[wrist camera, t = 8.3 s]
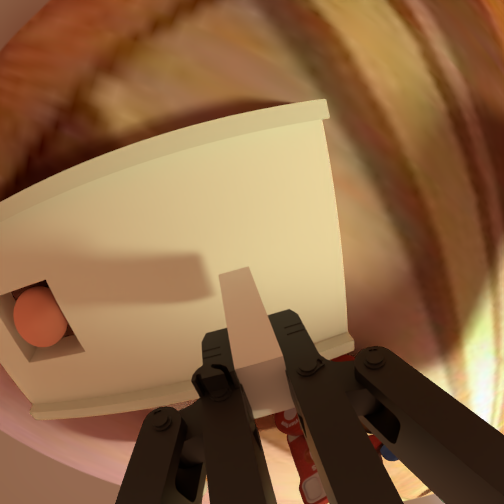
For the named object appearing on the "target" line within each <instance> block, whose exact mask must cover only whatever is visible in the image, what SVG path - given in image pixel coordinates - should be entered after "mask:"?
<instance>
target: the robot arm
mask: <svg viewBox="0 0 504 504" xmlns="http://www.w3.org/2000/svg"><path fill="white" fill-rule="evenodd" d="M219 282H220V288H221V294H222V300H223V306H224V312H225V318H226V324H227V328H224V329H220V330H216V331H212V332H208V333H206V334H205V336H204V338H203V340H202V342H201V345H202V359H203V360H202V362H203V365H202V366H201V367H199V368H198V369H197V370H196V371H195V372H194V374H193V375H192V379H191V382H192V384H193V386H194V388H195V389H196V391H197V393H198V395H199V397H200V398H199V399H198V400H197V401H196V402H195V403H193V404H192V405H190V406H188V407H186V408H184V409H182V410H180V411H177V410H176V409H174V408H172V407H167V406H166V407H159V408H157V409H155V410H153V411H152V412H150V413H149V414H148V415H147V416H146V418H145V420H144V422H143V424H142V427H141V430H140V433H139V435H138V438H137V441H136V444H135V447H134V449H133V452H132V455H131V458H130V461H129V464H128V467H127V470H126V473H125V476H124V478H123V481H122V484H121V487H120V491H119V493H118V497H117V500H116V503H115V504H201V503H202V497H203V492H204V486H205V480H206V475H207V481H208V490H209V498H210V504H277V502H276V498H275V494H274V491H273V487H272V483H271V479H270V475H269V472H268V468H267V464H266V460H265V456H264V452H263V448H262V444H261V440H260V436H259V432H258V429H257V427H256V424H255V421H254V419H256V418H260V417H264V416H267V415H271V414H274V413H278V412H281V411H285V410H288V409H291V408H294V407H295V408H296V411H297V415H298V420H299V424H300V428H301V430H302V431H303V433H304V436H305V439H306V441H307V444H308V447H309V450H310V452H311V455H312V458H313V461H314V463H315V466H316V469H317V471H318V474H319V477H320V480H321V482H322V485H323V488H324V490H325V493H326V496H327V498H328V501H329V504H404V503H403V501H402V499H401V497H400V496H399V494H398V492H397V490H396V488H395V486H394V484H393V482H392V480H391V478H390V476H389V474H388V473H387V471H386V469H385V467H384V465H383V463H382V461H381V459H380V457H379V455H378V453H377V452H376V450H375V448H374V446H373V444H372V442H371V440H370V438H369V437H368V435H367V433H366V431H365V429H364V427H363V425H362V423H363V424H364V425H365V426H366V427H367V428H368V429H369V430H370V431H371V432H372V433H373V434H374V435H375V436H376V437H377V438H378V439H379V440H380V441H381V442H382V443H383V444H384V445H385V446H386V447H387V448H388V449H389V450H390V451H391V452H392V453H393V454H394V455H395V456H396V457H397V458H398V459H399V460H400V461H401V462H402V463H403V464H404V465H405V466H406V467H407V468H408V469H409V470H410V471H411V472H412V473H413V474H414V475H415V476H417V477H418V478H419V479H420V480H421V481H422V482H423V483H424V484H425V485H426V486H427V487H428V488H429V489H430V490H431V491H432V492H433V493H434V494H436V495H437V496H438V497H439V498H440V499H441V500H442V501H443V502H444V503H445V504H504V435H503V434H502V433H500V432H499V431H498V430H496V429H495V428H494V427H492V426H491V425H490V424H488V423H487V422H486V421H484V420H483V419H482V418H480V417H479V416H478V415H476V414H475V413H474V412H472V411H471V410H470V409H468V408H467V407H466V406H464V405H463V404H462V403H460V402H459V401H457V400H456V399H455V398H453V397H452V396H451V395H449V394H448V393H447V392H445V391H444V390H443V389H441V388H440V387H439V386H437V385H436V384H435V383H433V382H432V381H431V380H429V379H428V378H427V377H425V376H424V375H423V374H421V373H420V372H419V371H417V370H416V369H414V368H413V367H412V366H410V365H409V364H408V363H406V362H405V361H404V360H402V359H401V358H400V357H398V356H397V355H396V354H394V353H393V352H392V351H390V350H388V349H386V348H384V347H378V346H374V347H368V348H366V349H363V350H361V351H360V352H359V353H358V354H357V355H356V357H355V360H352V361H343V362H335V361H330V360H327V359H325V358H324V357H323V356H321V355H320V354H319V352H318V351H317V349H316V347H315V345H314V343H313V341H312V339H311V337H310V336H309V334H308V332H307V330H306V328H305V326H304V324H303V323H302V321H301V319H300V317H299V315H298V314H297V313H295V312H294V311H292V310H291V309H287V310H284V311H280V312H277V313H274V314H270V315H267V313H266V310H265V308H264V305H263V303H262V300H261V297H260V295H259V292H258V289H257V287H256V284H255V282H254V279H253V276H252V274H251V271H250V269H249V266H247V267H244V268H240V269H237V270H233V271H230V272H226V273H222V274H219ZM253 416H254V417H253ZM361 422H362V423H361Z"/></svg>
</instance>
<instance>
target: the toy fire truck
mask: <svg viewBox="0 0 504 504" xmlns="http://www.w3.org/2000/svg"><path fill="white" fill-rule="evenodd" d="M352 360H355V357H353V356H351V355H346V354H344V355H341V356H339V357H336V358H333V359H332V360H331V361H335V362H343V361H352ZM361 423H362V422H361ZM275 424H276V426H277V428H278V429H279V430H280V431H281V432H282V433H285V434H287V441H288V444H289V447H290V450H291V454H292V456H293V459H294V462H295V465H296V468H297V471H298V473H299V476H300V485H299V491H300V494H301V497H302V499H303V502H304V504H327V503H329V501H328V498H327V496H326V493H325V490H324V488H323V485H322V482H321V480H320V477H319V474H318V471H317V469H316V466H315V463H314V461H313V458H312V455H311V452H310V450H309V447H308V444H307V441H306V439H305V436H304V433H303V431H302V430H301V428H300V424H299V420H298V415H297V411H296V408H295V407H294V408H291V409H288V410H285V411H281V412H278V413H275ZM362 425H363V427H364V429H365V431H366V432H367V433H369V434H373V433H372V432H371V431H370V430H369V429H368V428H367V427H366V426H365V425H364V424H363V423H362ZM368 437H369V438H370V440H371V442H372V444H373V446H374V448H375V450H376V452H377V453H378V455H379V457H380V459H381V461H382V463H383V460H382V457H381V455H382V456H383V457H384V458H385V459H386V460H388V461H396V460H399V459H398V458H397V457H396V456H395V455H394V454H393V453H392V452H391V451H390V450H389V449H388V448H387V447H386V446H385V445H384V444H383V443H382V442H381V441H380V440H379V439H378V438H377V437H376V436H375V435H374V434H373V435H369V436H368Z"/></svg>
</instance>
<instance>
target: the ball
mask: <svg viewBox="0 0 504 504" xmlns="http://www.w3.org/2000/svg"><path fill="white" fill-rule="evenodd" d="M13 317H14V323H15V326H16V329H17V331H18V333H19V334H20V336H21V337H22V338H23V339H24V340H25V341H26V342H28V343H29V344H31V345H33V346H36V347H49V346H52V345H54V344H56V343H57V342H58V341H59V340H60V339H61V338H62V337H63V335H64V334H65V332H66V329H67V325H68V321H67V320H66V318H65V316H64V314H63V312H62V311H61V309H60V307H59V305H58V303H57V301H56V299H55V297H54V295H53V293H52V291H51V289H49V288H46V287H41V286H36V287H32V288H29V289H27V290H25V291H24V292H23V293H22V294H21V295H20V296H19V297H18V299H17V301H16V303H15V306H14V312H13Z"/></svg>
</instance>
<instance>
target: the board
mask: <svg viewBox="0 0 504 504" xmlns="http://www.w3.org/2000/svg"><path fill="white" fill-rule="evenodd" d="M327 118H330V117H329V112H328V107H327V102H326V99H320V100H313V101H306V102H299V103H293V104H287V105H281V106H275V107H270V108H265V109H260V110H255V111H250V112H245V113H241V114H236V115H232V116H227V117H223V118H219V119H215V120H211V121H207V122H203V123H199V124H196V125H192V126H188V127H185V128H181V129H178V130H174V131H171V132H168V133H164V134H161V135H158V136H155V137H152V138H149V139H146V140H143V141H140V142H137V143H134V144H131V145H128V146H125V147H122V148H120V149H117V150H114V151H111V152H109V153H106V154H103V155H101V156H98V157H96V158H93V159H91V160H88V161H86V162H83V163H81V164H78V165H76V166H74V167H71V168H69V169H67V170H65V171H62V172H60V173H58V174H56V175H53V176H51V177H49V178H47V179H45V180H43V181H41V182H38V183H36V184H34V185H32V186H30V187H28V188H26V189H24V190H22V191H20V192H18V193H16V194H15V195H13V196H11V197H9V198H7V199H5V200H3V201H2V202H0V363H1V365H2V366H3V367H4V369H5V370H6V372H7V373H8V374H9V376H10V377H11V378H12V380H13V381H14V382H15V384H16V385H17V386H18V387H19V389H20V390H21V391H22V392H23V394H24V395H25V396H26V397H27V398H28V400H29V401H30V402H31V403H32V407H31V409H30V412H29V413H30V414H31V415H32V416H33V417H34V418H35V420H53V419H68V418H80V417H91V416H100V415H108V414H116V413H123V412H130V411H137V410H143V409H149V408H155V407H160V406H165V405H171V404H176V403H181V402H185V401H190V400H195V399H199V398H200V397H199V395H198V393H197V391H196V389H195V388H194V386H193V384H192V382H191V379H192V375H193V374H194V372H195V371H196V370H197V369H198V368H199V367H201V366H202V365H203V362H202V360H203V359H202V345H201V342H202V340H203V338H204V336H205V334H206V333H208V332H212V331H216V330H220V329H224V328H227V324H226V318H225V312H224V306H223V300H222V294H221V288H220V282H219V274H222V273H226V272H230V271H233V270H237V269H240V268H244V267H247V266H249V269H250V271H251V274H252V276H253V279H254V282H255V284H256V287H257V289H258V292H259V295H260V297H261V300H262V303H263V305H264V308H265V310H266V313H267V315H270V314H274V313H277V312H280V311H284V310H287V309H291V310H292V311H294V312H295V313H297V314H298V315H299V317H300V319H301V321H302V323H303V324H304V326H305V328H306V330H307V332H308V334H309V336H310V337H311V339H312V341H313V343H314V345H315V347H316V349H317V351H318V352H319V354H320V355H321V356H323V357H324V358H325V359H327V360H330V359H333V358H336V357H339V356H341V355H344V354H346V353H349V352H351V351H354V339H353V338H352V336H351V335H350V334H349V332H348V322H347V305H346V291H345V279H344V268H343V257H342V248H341V239H340V230H339V222H338V214H337V206H336V199H335V192H334V185H333V179H332V172H331V166H330V160H329V154H328V149H327V143H326V138H325V132H324V127H323V122H322V119H327ZM43 280H46V281H47V283H48V285H49V287H50V289H51V291H52V293H53V295H54V297H55V299H56V301H57V303H58V305H59V307H60V309H61V311H62V312H63V314H64V316H65V318H66V320H67V321H68V323H69V325H70V327H71V328H72V330H73V332H74V334H75V335H71V336H67V337H63V338H61V339H60V340H59V341H58V342H57V343H56V344H54V345H52V346H49V347H36V346H33V345H31V344H29V343H28V342H26V341H25V340H24V339H23V338H22V337H21V336H20V334H19V333H18V331H17V329H16V326H15V323H14V317H13V312H14V306H15V303H16V301H15V299H14V297H13V295H12V293H11V291H14V290H17V289H20V288H23V287H25V286H28V285H31V284H34V283H37V282H40V281H43Z"/></svg>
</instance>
